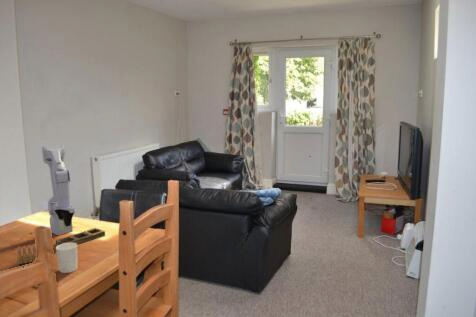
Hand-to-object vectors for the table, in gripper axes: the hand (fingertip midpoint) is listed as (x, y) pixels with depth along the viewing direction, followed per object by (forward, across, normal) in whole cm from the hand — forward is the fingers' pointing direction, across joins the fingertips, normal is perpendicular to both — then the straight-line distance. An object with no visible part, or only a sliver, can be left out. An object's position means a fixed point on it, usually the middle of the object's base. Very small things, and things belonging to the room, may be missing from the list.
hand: (65, 224), depth 189 cm
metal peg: (+3, 0, 0) cm, 3 cm away
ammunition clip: (+10, +18, -24) cm, 31 cm away
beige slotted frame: (+9, 0, +7) cm, 12 cm away
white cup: (+10, +26, -14) cm, 31 cm away
